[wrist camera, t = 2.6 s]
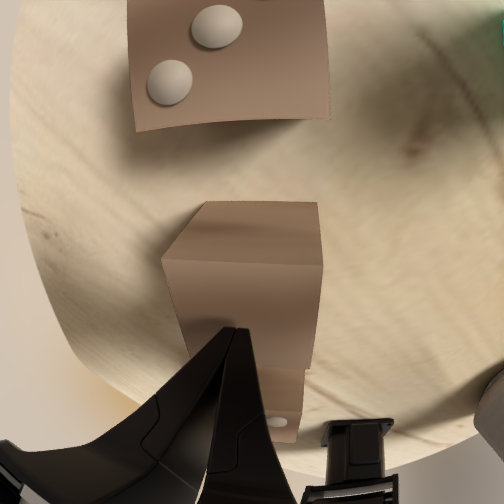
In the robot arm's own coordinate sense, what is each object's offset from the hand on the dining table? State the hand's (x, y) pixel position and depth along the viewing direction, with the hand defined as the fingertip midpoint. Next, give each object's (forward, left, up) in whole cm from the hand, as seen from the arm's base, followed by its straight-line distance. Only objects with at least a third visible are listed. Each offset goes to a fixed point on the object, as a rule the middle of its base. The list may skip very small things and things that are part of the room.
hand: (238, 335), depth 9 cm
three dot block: (+9, 0, -6) cm, 11 cm away
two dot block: (-9, 0, -6) cm, 11 cm away
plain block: (0, 0, -6) cm, 6 cm away
